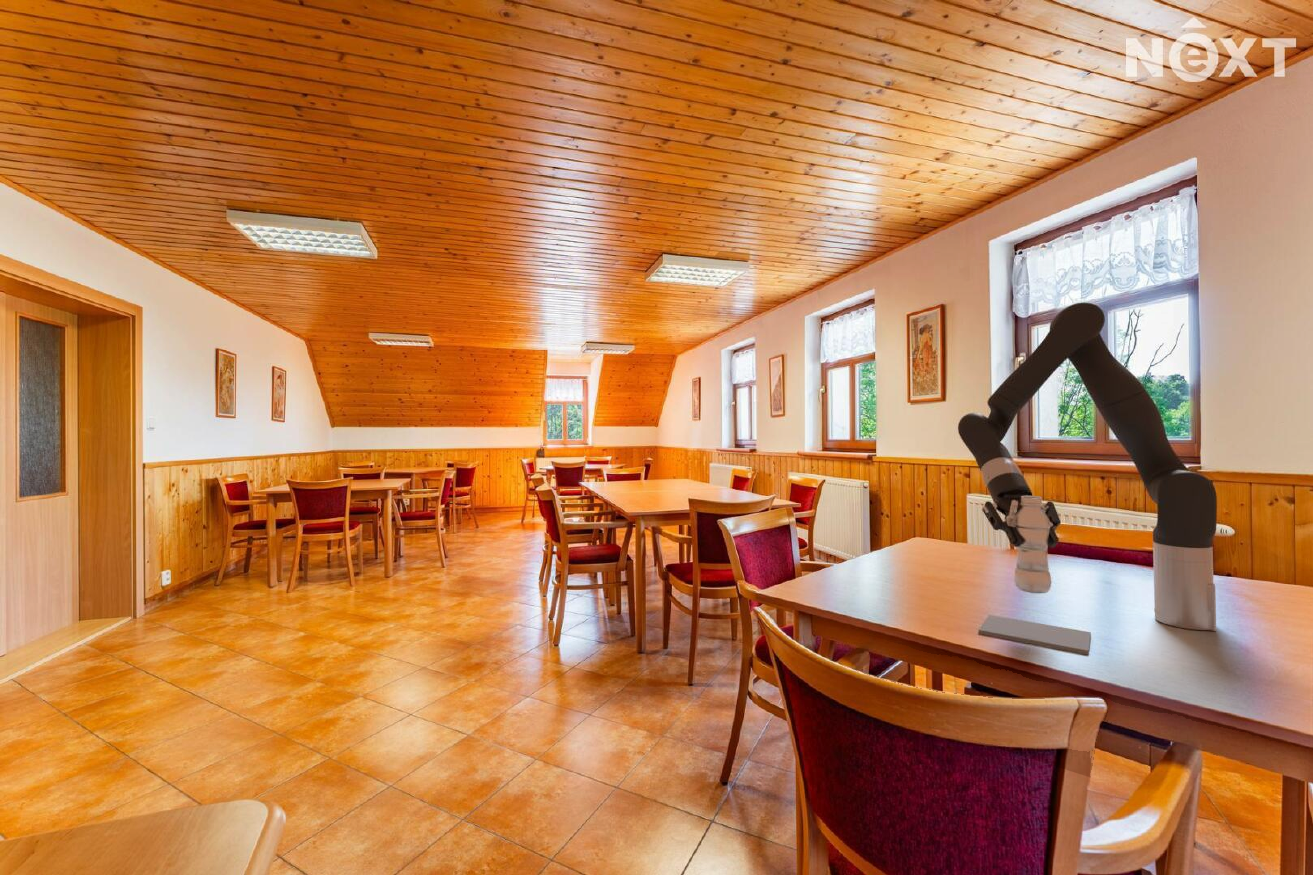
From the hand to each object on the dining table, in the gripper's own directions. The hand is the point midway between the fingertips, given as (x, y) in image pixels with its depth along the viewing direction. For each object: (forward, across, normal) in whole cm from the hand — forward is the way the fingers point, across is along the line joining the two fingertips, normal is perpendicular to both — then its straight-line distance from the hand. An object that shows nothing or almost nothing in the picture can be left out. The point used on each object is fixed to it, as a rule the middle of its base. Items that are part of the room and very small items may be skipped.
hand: (1036, 544), depth 109 cm
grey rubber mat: (+13, 0, +14) cm, 19 cm away
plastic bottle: (+6, 0, +9) cm, 11 cm away
